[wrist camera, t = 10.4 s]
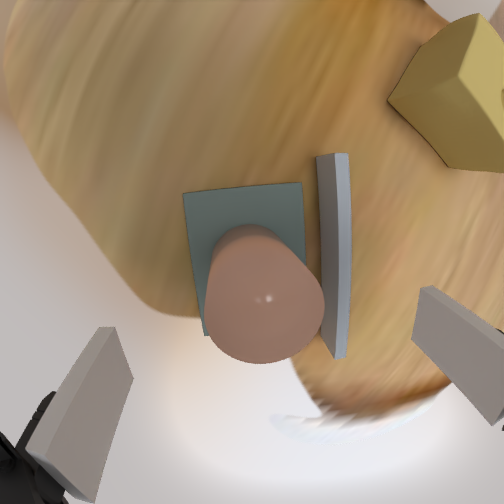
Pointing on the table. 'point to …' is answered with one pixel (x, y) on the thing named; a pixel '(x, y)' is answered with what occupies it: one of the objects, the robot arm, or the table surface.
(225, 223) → the mat
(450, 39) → the cheese
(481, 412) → the robot arm
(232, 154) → the table surface
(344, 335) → the divider wall
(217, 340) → the pink rounded cylinder
